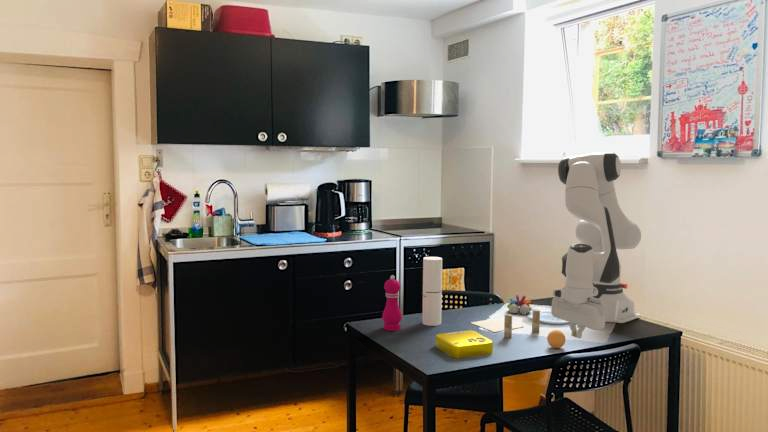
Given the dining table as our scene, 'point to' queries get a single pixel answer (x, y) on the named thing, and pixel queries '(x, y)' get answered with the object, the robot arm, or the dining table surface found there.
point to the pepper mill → (392, 305)
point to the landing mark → (494, 325)
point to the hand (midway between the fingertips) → (576, 336)
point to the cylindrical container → (432, 291)
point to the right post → (535, 321)
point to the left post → (508, 326)
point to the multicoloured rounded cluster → (515, 305)
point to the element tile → (464, 344)
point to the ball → (556, 339)
